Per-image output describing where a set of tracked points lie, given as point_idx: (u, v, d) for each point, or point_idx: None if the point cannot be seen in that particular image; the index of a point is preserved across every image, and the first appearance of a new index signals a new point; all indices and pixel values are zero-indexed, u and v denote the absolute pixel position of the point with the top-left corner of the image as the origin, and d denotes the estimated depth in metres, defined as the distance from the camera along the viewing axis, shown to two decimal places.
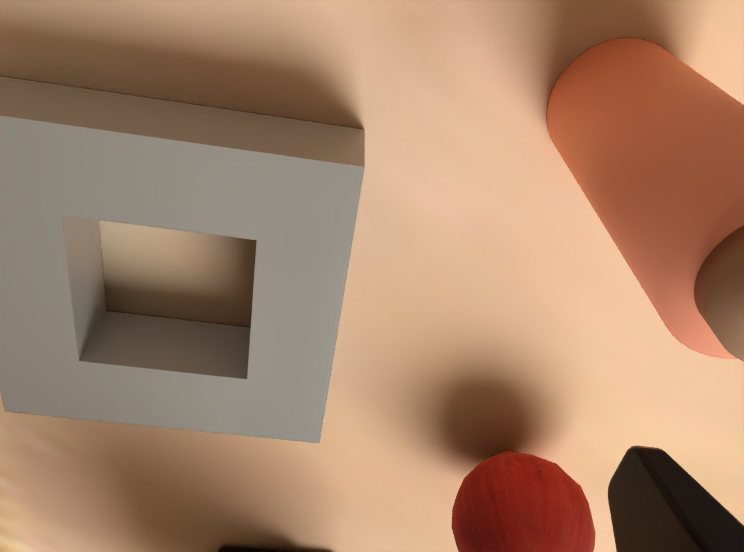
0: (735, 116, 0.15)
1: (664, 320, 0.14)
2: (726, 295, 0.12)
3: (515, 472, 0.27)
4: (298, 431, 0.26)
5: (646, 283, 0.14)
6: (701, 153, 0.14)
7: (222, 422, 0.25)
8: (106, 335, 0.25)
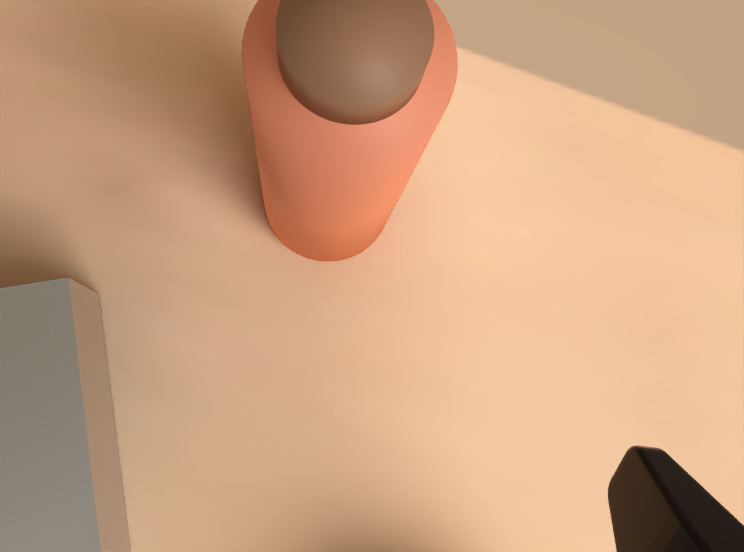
0: None
1: (281, 130, 0.13)
2: (282, 38, 0.12)
3: None
4: None
5: (265, 128, 0.14)
6: None
7: None
8: None
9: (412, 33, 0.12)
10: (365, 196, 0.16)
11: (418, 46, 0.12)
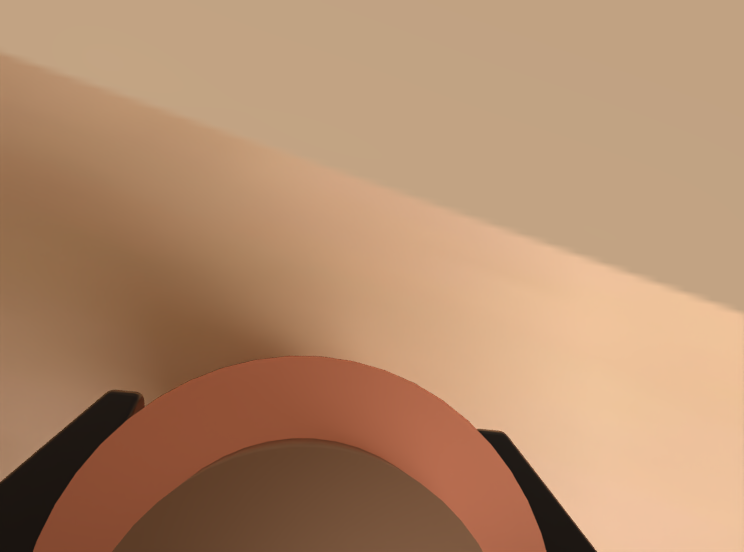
0: None
1: None
2: None
3: None
4: None
5: None
6: None
7: None
8: None
9: None
10: None
11: None
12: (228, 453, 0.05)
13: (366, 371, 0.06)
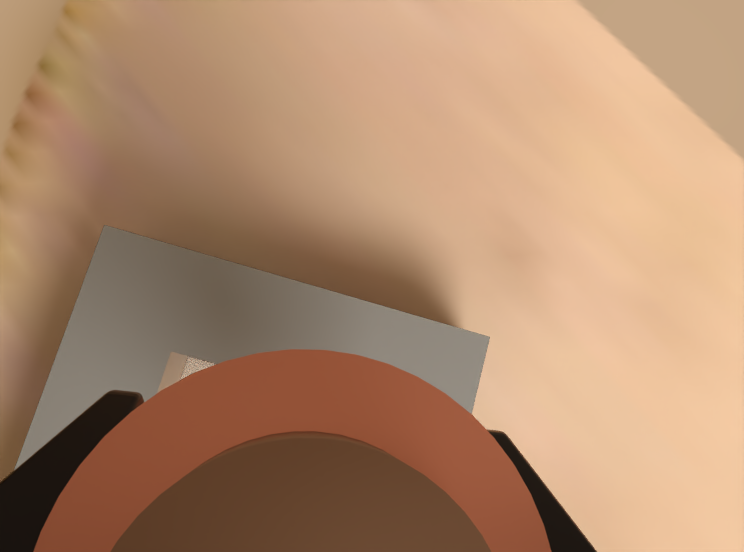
0: None
1: None
2: None
3: None
4: None
5: None
6: None
7: None
8: None
9: None
10: None
11: None
12: (231, 446, 0.05)
13: (369, 364, 0.06)
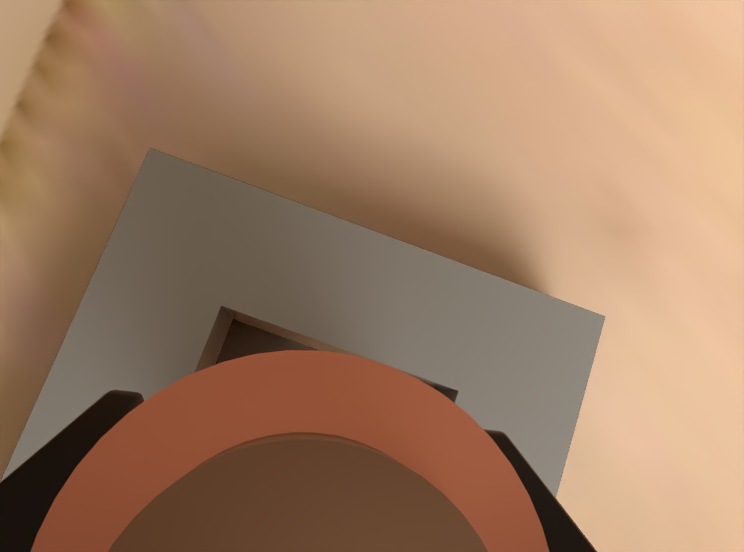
0: None
1: None
2: None
3: None
4: None
5: None
6: None
7: None
8: None
9: None
10: None
11: None
12: (229, 447, 0.05)
13: (367, 365, 0.06)
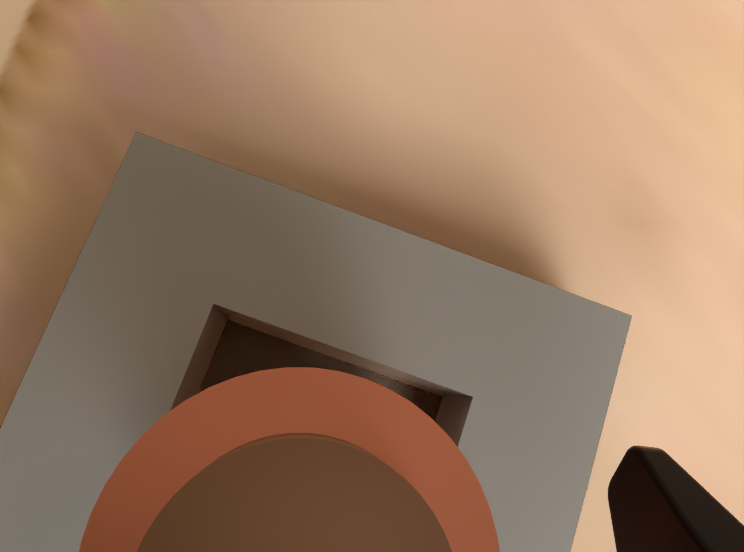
0: None
1: None
2: None
3: None
4: None
5: None
6: None
7: None
8: None
9: None
10: None
11: None
12: (241, 444, 0.07)
13: (351, 379, 0.07)
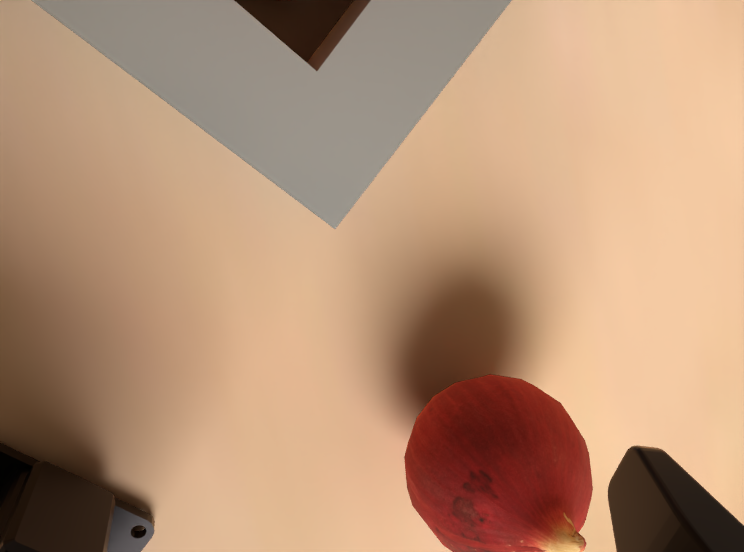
0: None
1: None
2: None
3: (522, 382, 0.21)
4: (322, 195, 0.18)
5: None
6: None
7: (236, 124, 0.17)
8: None
9: None
10: None
11: None
12: None
13: None
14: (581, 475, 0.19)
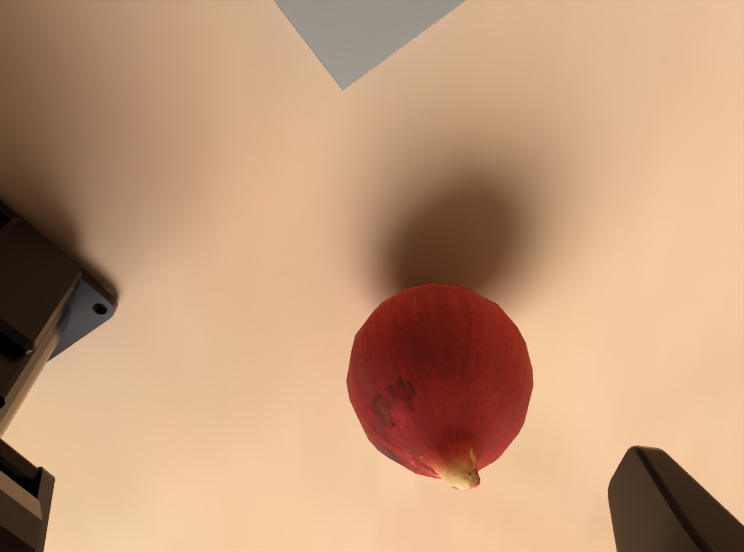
0: None
1: None
2: None
3: (495, 309, 0.20)
4: (338, 48, 0.16)
5: None
6: None
7: None
8: None
9: None
10: None
11: None
12: None
13: None
14: (507, 420, 0.19)
